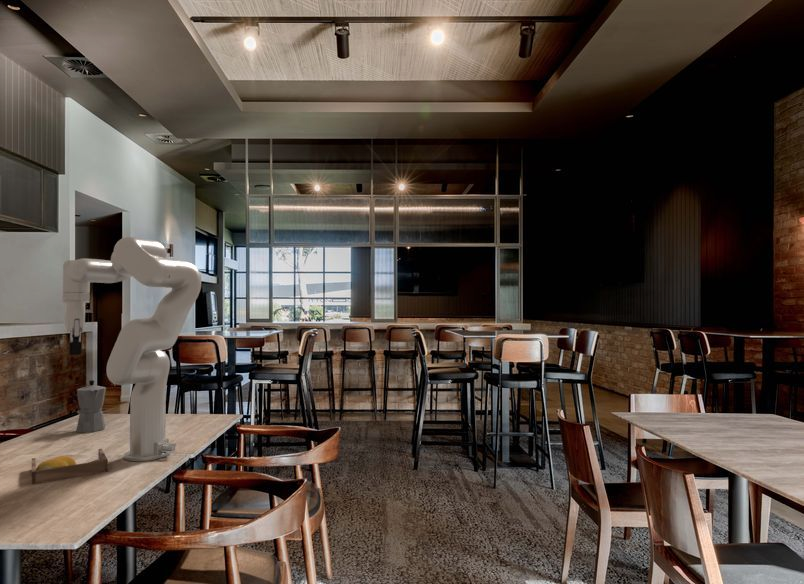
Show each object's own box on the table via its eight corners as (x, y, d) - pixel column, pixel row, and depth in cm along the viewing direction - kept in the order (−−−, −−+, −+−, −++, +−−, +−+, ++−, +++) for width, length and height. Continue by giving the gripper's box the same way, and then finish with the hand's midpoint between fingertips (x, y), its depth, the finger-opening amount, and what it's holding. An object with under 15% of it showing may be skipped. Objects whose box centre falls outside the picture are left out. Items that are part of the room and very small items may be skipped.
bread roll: (82, 467, 143) (82, 452, 143) (58, 477, 134) (58, 462, 134) (53, 466, 144) (54, 452, 144) (28, 477, 135) (28, 461, 135)
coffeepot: (110, 430, 185) (111, 380, 186) (80, 435, 179) (81, 383, 179) (99, 424, 196) (100, 376, 197) (70, 428, 190) (71, 379, 191)
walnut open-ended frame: (31, 469, 140) (31, 458, 141) (101, 458, 150) (101, 448, 150) (31, 484, 128) (31, 472, 129) (107, 471, 138) (107, 460, 138)
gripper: (61, 298, 172) (60, 353, 171) (63, 297, 159) (62, 357, 159) (87, 298, 176) (86, 352, 175) (91, 297, 164) (90, 355, 163)
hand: (75, 354), depth 167 cm, fingers closed
